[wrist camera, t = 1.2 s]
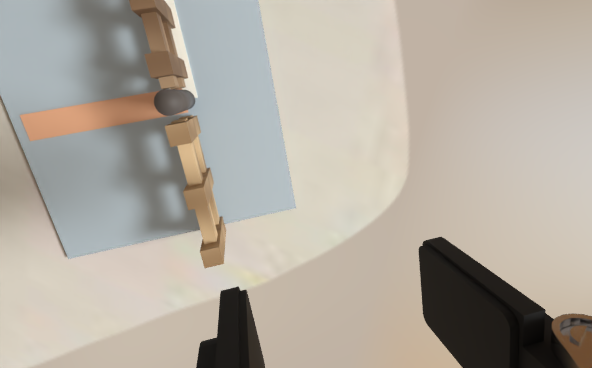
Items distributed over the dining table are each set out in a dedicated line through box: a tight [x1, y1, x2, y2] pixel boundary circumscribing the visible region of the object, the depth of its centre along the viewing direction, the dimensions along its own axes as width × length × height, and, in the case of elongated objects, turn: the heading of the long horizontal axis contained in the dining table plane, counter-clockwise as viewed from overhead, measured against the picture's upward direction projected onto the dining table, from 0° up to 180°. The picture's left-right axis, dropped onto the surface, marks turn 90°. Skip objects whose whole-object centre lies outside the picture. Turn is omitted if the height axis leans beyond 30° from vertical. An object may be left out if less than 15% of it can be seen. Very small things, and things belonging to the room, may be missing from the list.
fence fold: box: [165, 115, 226, 268], centre depth 23 cm, size 9×1×6 cm, turn 10°
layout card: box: [0, 0, 296, 259], centre depth 24 cm, size 20×18×1 cm
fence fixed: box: [129, 0, 195, 116], centre depth 20 cm, size 10×1×7 cm, turn 10°
